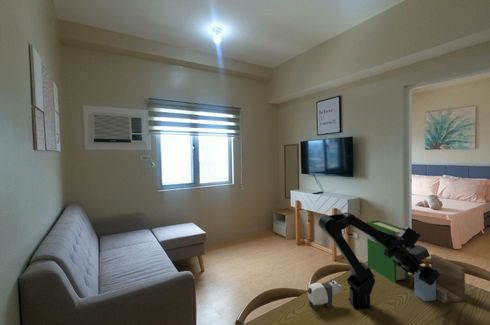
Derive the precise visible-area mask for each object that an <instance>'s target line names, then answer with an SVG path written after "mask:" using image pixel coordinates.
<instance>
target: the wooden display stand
mask: <svg viewBox="0 0 490 325" xmlns="http://www.w3.org/2000/svg"><path fill="white" fill-rule="evenodd" d="M430 267H432V268H434V269H436V270H437V271H438V272H439V273H440V276H439V277H438V278H437V279H436V300H437V301H440V302H441V303H442V304H444V303H445V304H446V303H452V302H453V303H454V302H465V301H466V272H465V270H466V269H465V267H462V266H460V265H458V264H456V263H454V262H451V261H450V260H447V259H445V258H443V257H440V256H439V255H437V254H430Z"/></svg>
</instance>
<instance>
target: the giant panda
mask: <svg viewBox="0 0 490 325" xmlns="http://www.w3.org/2000/svg"><path fill="white" fill-rule="evenodd" d="M342 288H343V286H342V284H339V283H338V282H337V281H335V280H333V279H332V278H331V279H330V282H314V283H311V284H309V286H308V287H307V299H308V303H309V305H310V306H311V307H312V310H313V311H319V310H320V307H319V305H323V304H325V305H326V308H328V309H331V308H332V309H333V308H334V306H333V296H334V295H336V294H338V293H339V292H340V291H341V289H342Z"/></svg>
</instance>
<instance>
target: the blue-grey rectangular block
mask: <svg viewBox="0 0 490 325" xmlns="http://www.w3.org/2000/svg"><path fill="white" fill-rule="evenodd" d="M417 271H418V270H417ZM419 274H420V271H418V273H416V272H414V274H413V279H414V280H413V281H414V286H413V287H414V295H415V296H416V297H418V299H420V300H422V301H423V302H429V301H430V302H431V301H436V300H437V299H436V281H435V282H434V284H432V285H428V284H426V283H425V282H423V281H421V280H420V279H418V278H419Z"/></svg>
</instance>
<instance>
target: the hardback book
mask: <svg viewBox="0 0 490 325" xmlns="http://www.w3.org/2000/svg"><path fill="white" fill-rule="evenodd" d="M366 223H367V224H369V225H370V226H372V227H374V228H376V229H379V230H382V231H385V232H387V233H389V234H394V235H396V236H397V235H398V234H399V233H400V232H401V231H402V230H403V228H404V227H400V226H397V225H393V224H391V223H388V222H387V221H383V220H380V219H379V220H371V221H370V220H369V221H366ZM366 236H367V237H366V238H367V242H366V243H367V266H368V267H369V268H370V269H372V270H374V271H375V272H376V273H378V274H379V275H380V276H381V275H382V276H383V277H384V278H385V279H388V280H389V281H391V282H392V283H394V284H397V281H401V280H404V281H406V282H408V281H409V275H408V272H407V271H405V270H404V269H402V266H401V267H399V266H397V265H396V264H395V263H394V262H393V259H394V257H393V256H392V257H391V258H389V257H387V256H385V255H384V249H387V248H385V247H383V246H382V245H380V244H378V243H377V242H376V241H374V240H373V239H372V238H371V237H370V236H369V235H368V234H366ZM402 246H403V245H402ZM403 247H404V248H405V249H407V250H408V248H407V247H405V246H403Z"/></svg>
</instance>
